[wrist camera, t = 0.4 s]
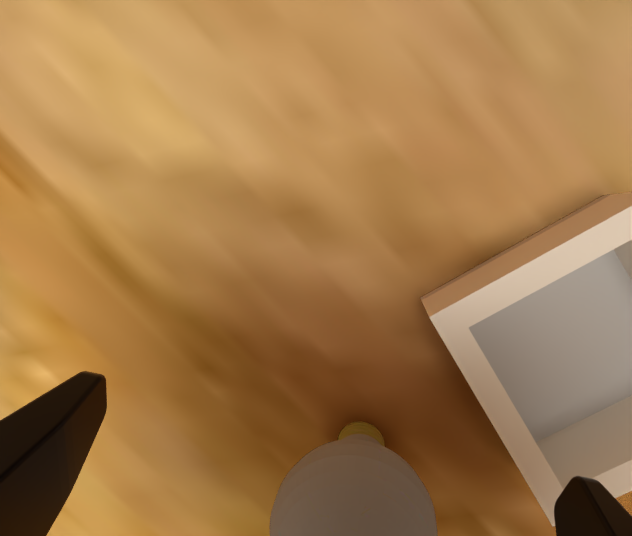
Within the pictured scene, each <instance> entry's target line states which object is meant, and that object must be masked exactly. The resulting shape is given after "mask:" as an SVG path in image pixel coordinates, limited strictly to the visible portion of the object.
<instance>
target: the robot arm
mask: <svg viewBox="0 0 632 536" xmlns="http://www.w3.org/2000/svg"><path fill="white" fill-rule="evenodd" d="M106 408H107V395H106V379H105V377H104V376H103V375H102V374H97V373H92V372H87V371H83V372H80V373H78V374H76V375H75V376H73V377H71V378H70V379H68V380H67V381H65V382H63V383H62V384H60V385H58V386H57V387H55V388H53V389H52V390H50V391H48V392H47V393H45V394H43V395H42V396H40V397H38V398H37V399H35V400H33V401H32V402H30V403H28V404H27V405H25V406H24V407H22V408H20V409H19V410H17V411H15V412H14V413H12V414H10V415H9V416H7V417H5V418H4V419H2V420H0V536H46V535H47V533H48V532H49V530H50V528H51V526H52V525H53V523H54V521H55V520H56V518H57V516H58V514H59V513H60V511H61V509H62V507H63V506H64V504H65V502H66V500H67V498H68V497H69V495H70V493H71V491H72V488H73V486H74V484H75V482H76V480H77V478H78V475H79V473H80V471H81V469H82V466H83V464H84V462H85V460H86V457H87V455H88V453H89V451H90V448H91V446H92V444H93V442H94V439H95V437H96V435H97V432H98V430H99V428H100V426H101V423H102V421H103V419H104V416H105V413H106ZM554 519H555V527H556V535H557V536H632V516H631V515H630V514H629V513H628V512H627V511H626V510H625V508H624V507H623V506H622V505H621V504H620V503H619V502H618V501H617V500H616V499H615V498H614V497H613V496H612V494H611V493H610V492H609V491H608V490H607V489H606V488H605V487H604V486H603V485H602V484H601V483H600V482H599V481H597V480H595V479H591V478H587V477H582V476H575V477H573V478H572V479H571V480H570V481H569V483H568V484H567V485H566V487H565V488H564V490H563V491H562V493H561V494H560V496H559V497H558V498H557V500H556V502H555V506H554Z"/></svg>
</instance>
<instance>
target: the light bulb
mask: <svg viewBox="0 0 632 536" xmlns="http://www.w3.org/2000/svg"><path fill="white" fill-rule="evenodd" d="M270 536H438V535H437V525H436V516H435V511H434V507H433V504H432V501H431V498H430V496H429V493H428V492H427V490H426V488H425V486H424V485H423V483H422V481H421V480H420V478H419V477H418V475H417V474H416V472H415V471H414V470H413V468H412V467H411V466H410V465H409V464H408V463H407V462H406V461H405V460H404V459H403V458H401V457H400V456H399V455H398V454H396V453H395V452H393V451H391V450H390V449H388V448H386V447H385V445H384V439H383V436H382V434H381V433H380V431H379V430H378V429H377V428H376V427H375V426H373V425H371V424H369V423H366V422H360V421H359V422H353V423H350V424H348V425H346V426H345V427H344V428H343V429H342V430H341V432H340V434H339V436H338V440H337V441H333V442H329V443H326V444H324V445H321V446H319V447H317V448H315V449H314V450H312V451H311V452H309V453H308V454H307V455H305V456H304V457H303V458H302V459H301V460H300V461H299V462H298V463H297V464H296V465H295V466H294V467H293V468H292V469H291V470H290V471H289V473H288V474H287V475H286V477H285V478H284V480H283V482H282V484H281V486H280V488H279V491H278V493H277V496H276V499H275V502H274V506H273V509H272V513H271V518H270Z"/></svg>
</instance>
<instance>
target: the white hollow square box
mask: <svg viewBox="0 0 632 536" xmlns="http://www.w3.org/2000/svg"><path fill="white" fill-rule="evenodd" d="M420 298H421V301H422V303H423V305H424V307H425V309H426V311H427V314H428V316H429V318H430V320H431V321H432V323H433V325H434V326H435V328H436V330H437V331H438V333H439V335H440V337H441V338H442V340H443V342H444V343H445V345H446V347H447V348H448V350H449V352H450V353H451V355H452V357H453V359H454V360H455V362H456V364H457V365H458V367H459V369H460V370H461V372H462V374H463V375H464V377H465V379H466V381H467V382H468V384H469V386H470V387H471V389H472V391H473V392H474V394H475V396H476V398H477V399H478V401H479V403H480V404H481V406H482V408H483V409H484V411H485V413H486V414H487V416H488V418H489V420H490V421H491V423H492V425H493V426H494V428H495V430H496V431H497V433H498V435H499V436H500V438H501V440H502V442H503V443H504V445H505V447H506V448H507V450H508V452H509V453H510V455H511V457H512V458H513V460H514V462H515V464H516V465H517V467H518V469H519V470H520V472H521V474H522V475H523V477H524V479H525V481H526V482H527V484H528V486H529V487H530V489H531V491H532V492H533V494H534V496H535V497H536V499H537V501H538V503H539V504H540V506H541V508H542V509H543V511H544V513H545V514H546V516H547V518H548V519H549V521H550V523H551V525H552V526H553V527H554V526H555V519H554V506H555V502H556V500H557V498H558V497H559V496H560V494H561V493H562V491H563V490H564V488H565V487H566V485H567V484H568V483H569V481H570V480H571V479H572V478H573V477H575V476H582V477H587V478H591V479H595V480H597V481H599V482H600V483H601V484H602V485H603V486H604V487H605V488H606V489H607V490H608V491H609V492H610V493H611V494H612V496H613V497H614V498H617V497H619V496H621V495H623V494H626V493H628V492H630V491H632V192H627V193H619V194H610V195H603V196H601V197H600V198H598V199H596V200H594V201H592V202H591V203H589V204H587V205H585V206H583V207H582V208H580V209H578V210H576V211H574V212H573V213H571V214H569V215H567V216H566V217H564V218H562V219H560V220H558V221H557V222H555V223H553V224H551V225H549V226H548V227H546V228H544V229H542V230H540V231H539V232H537V233H535V234H533V235H531V236H530V237H528V238H526V239H524V240H523V241H521V242H519V243H517V244H515V245H514V246H512V247H510V248H508V249H506V250H505V251H503V252H501V253H499V254H497V255H496V256H494V257H492V258H490V259H488V260H487V261H485V262H483V263H481V264H480V265H478V266H476V267H474V268H472V269H471V270H469V271H467V272H465V273H463V274H462V275H460V276H458V277H456V278H454V279H453V280H451V281H449V282H447V283H446V284H444V285H442V286H440V287H438V288H437V289H435V290H433V291H431V292H429V293H428V294H426V295H424V296H422V297H420Z"/></svg>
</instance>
